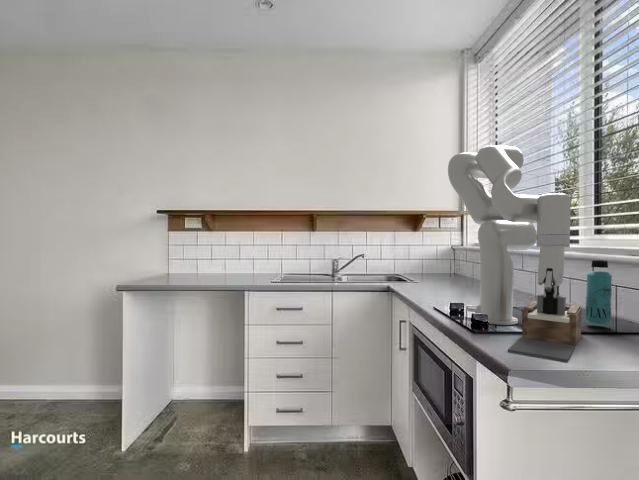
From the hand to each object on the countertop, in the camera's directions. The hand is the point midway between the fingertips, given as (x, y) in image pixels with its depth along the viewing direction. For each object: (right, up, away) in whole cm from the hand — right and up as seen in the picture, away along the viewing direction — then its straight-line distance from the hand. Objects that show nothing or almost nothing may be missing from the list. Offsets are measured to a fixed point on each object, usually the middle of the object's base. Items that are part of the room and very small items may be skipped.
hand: (551, 311), depth 108 cm
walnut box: (+2, -7, +3) cm, 8 cm away
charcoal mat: (-8, -7, -10) cm, 14 cm away
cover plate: (0, -1, 0) cm, 1 cm away
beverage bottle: (+23, -8, +16) cm, 29 cm away
